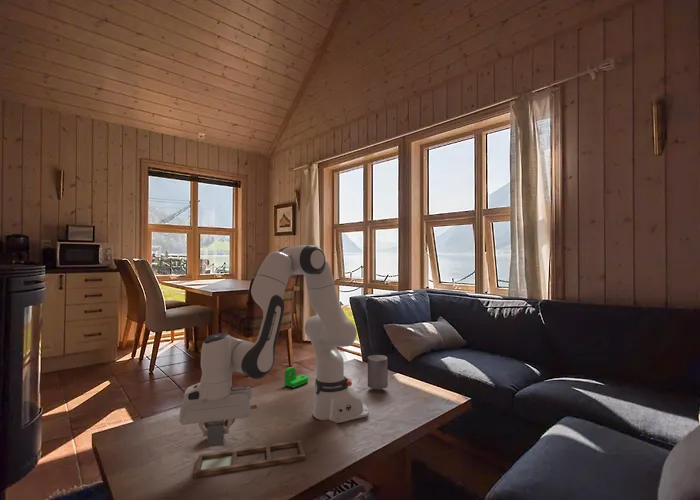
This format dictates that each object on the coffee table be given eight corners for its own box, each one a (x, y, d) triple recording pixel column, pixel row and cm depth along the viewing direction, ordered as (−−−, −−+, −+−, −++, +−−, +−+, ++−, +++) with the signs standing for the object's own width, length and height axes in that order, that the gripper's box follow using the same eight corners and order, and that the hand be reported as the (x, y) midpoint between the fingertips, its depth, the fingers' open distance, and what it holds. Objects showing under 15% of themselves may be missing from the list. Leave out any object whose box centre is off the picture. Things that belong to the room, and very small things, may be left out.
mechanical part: (293, 387, 173) (293, 371, 174) (284, 385, 177) (284, 368, 177) (310, 380, 183) (310, 364, 183) (302, 378, 187) (301, 362, 187)
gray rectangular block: (224, 437, 112) (224, 417, 112) (223, 444, 108) (223, 423, 108) (208, 439, 111) (209, 418, 111) (207, 447, 107) (207, 425, 107)
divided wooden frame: (300, 443, 121) (300, 440, 121) (305, 459, 112) (305, 455, 112) (198, 458, 113) (198, 455, 113) (194, 477, 103) (194, 473, 103)
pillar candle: (368, 382, 180) (368, 351, 180) (388, 382, 179) (388, 352, 179) (366, 389, 170) (366, 357, 170) (387, 390, 169) (387, 357, 169)
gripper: (251, 381, 116) (251, 425, 115) (182, 388, 110) (181, 434, 110) (251, 388, 110) (251, 434, 109) (178, 395, 104) (177, 444, 104)
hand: (216, 434), depth 110 cm, fingers closed on gray rectangular block, 4 cm apart
